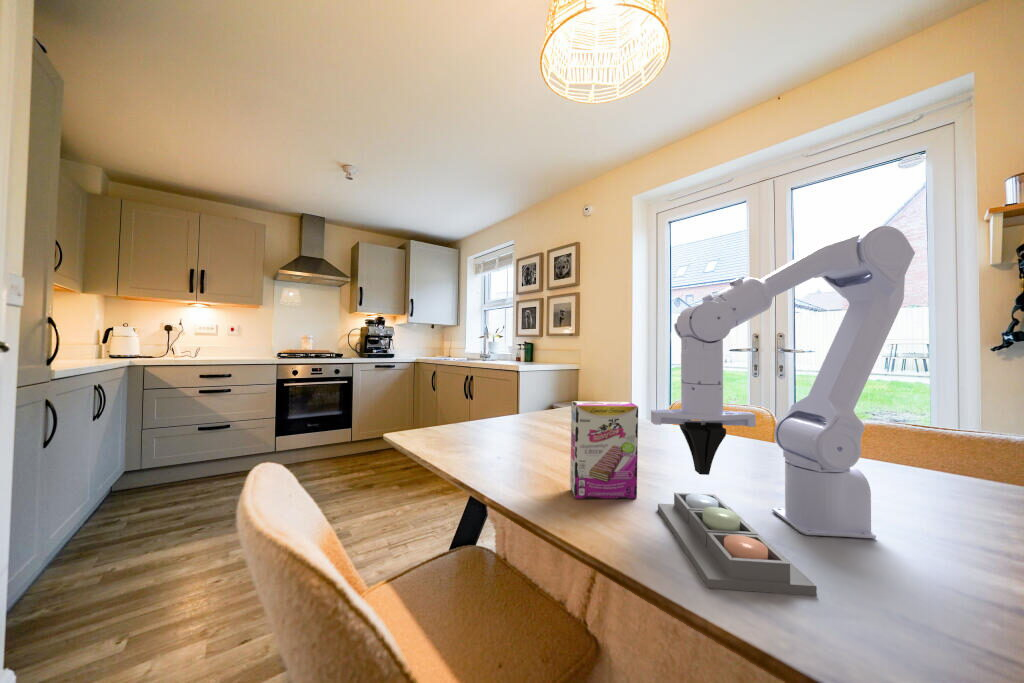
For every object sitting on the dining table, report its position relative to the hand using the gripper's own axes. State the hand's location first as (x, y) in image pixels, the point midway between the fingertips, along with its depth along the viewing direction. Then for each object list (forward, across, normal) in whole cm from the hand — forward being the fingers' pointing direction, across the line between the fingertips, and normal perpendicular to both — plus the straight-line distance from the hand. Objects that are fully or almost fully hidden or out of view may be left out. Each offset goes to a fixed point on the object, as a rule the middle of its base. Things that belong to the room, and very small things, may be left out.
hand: (701, 472), depth 57 cm
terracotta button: (+6, 0, +13) cm, 14 cm away
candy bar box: (+8, +14, -9) cm, 18 cm away
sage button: (+5, 0, +6) cm, 8 cm away
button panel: (+7, 0, +6) cm, 10 cm away
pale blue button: (+6, 0, 0) cm, 6 cm away
